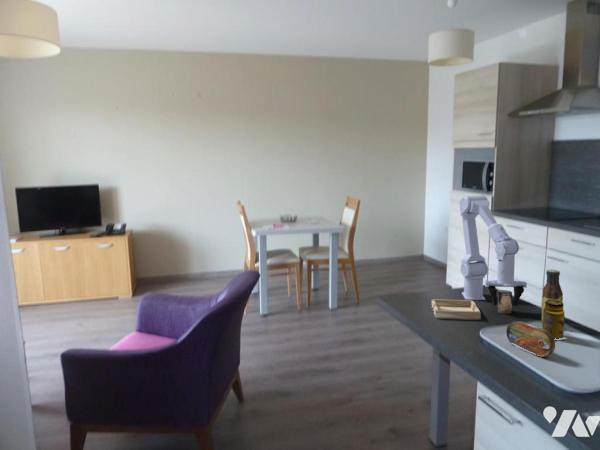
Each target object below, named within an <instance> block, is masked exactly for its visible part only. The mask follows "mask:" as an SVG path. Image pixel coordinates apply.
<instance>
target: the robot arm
mask: <svg viewBox="0 0 600 450" xmlns="http://www.w3.org/2000/svg"><path fill="white" fill-rule="evenodd" d="M489 206H490V200H489V199H488V197H487V195H484V194H481V195H467V196H466V195H463V196H462V197H461V199H460V201H459V212H460V216H461V221H462V229H463V230H462V231H463V237H464V247H465V256H464V257H463V258H462V259H461V261H460V262H461V265H460V273H461V275H462V277H463V278H464V283H463V291H462V292H461V295H462V296H463V298H464V300H473V301H486V297H485V296H484V294H483V293H484V290H483V289H484V287H486V288H487V289H488V292H489V293H490V296H491V301H492V305H493V306H496V305H497V294H498V290H497V288H499V287H500V288H503V287H504V288H513V305H514V306H515V307H518V304H519V300H520V299H521V296H522V295H523V293H524V292H525V288H527V285H528V283H527V282H526V281H524V280H523V281H521V280H515V263H516V262H515V261H516V260H515V256H516V254H517V253H518V252H519V250H520V249H519V248H520V247H519V244H518V241H517V240H516V239H514V238H512V237H510V235H509V234H508V233H507V231H506V230H505V228H504V226H503V224H500V223H498V222H497V221H496V219H495V217H494V215H493V213H492V211H491V209H490V207H489ZM478 215H479V217H480V218H481V219H482V220H483V222H484V223H485V225H486V226H487V227H488V229H487V234H489V236H490V238H491V239H492V241H493V243H494V245H495V246H494V251H495V253H496V258H497V279H496V280H485V281H484V279H485V277H486V275H487V274H488V272H489V266H488V265H487V262H486V258H485V257H484V256H482V255H481V253H480V247H479V245H480V244H479V239H478V237H479V236H478V229H477V222H476V218H477V217H478Z"/></svg>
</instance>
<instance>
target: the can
mask: <svg viewBox="0 0 600 450" xmlns="http://www.w3.org/2000/svg"><path fill="white" fill-rule="evenodd" d="M512 303H513V292H512V291H510V290H507V289H500V290H497V312H498V313H500V314H504V315H509V314H510V315H511V314H512V310H513V309H512Z"/></svg>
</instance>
